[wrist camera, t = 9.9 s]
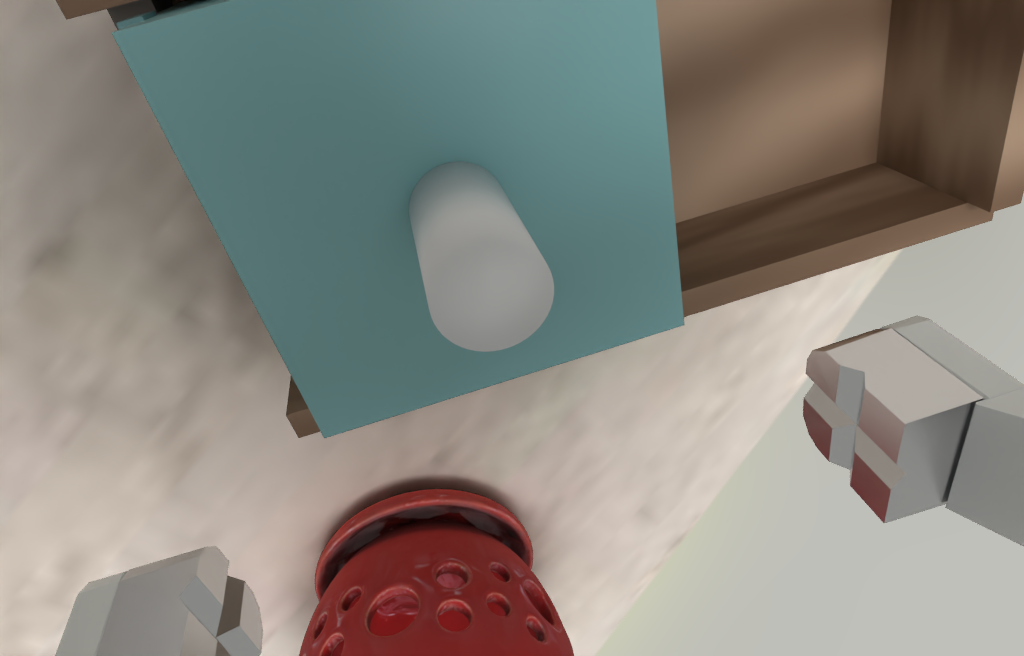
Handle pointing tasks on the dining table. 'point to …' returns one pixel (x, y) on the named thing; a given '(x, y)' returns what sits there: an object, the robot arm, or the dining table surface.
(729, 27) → the bay
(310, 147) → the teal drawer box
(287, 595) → the dining table surface
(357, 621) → the plant pot
